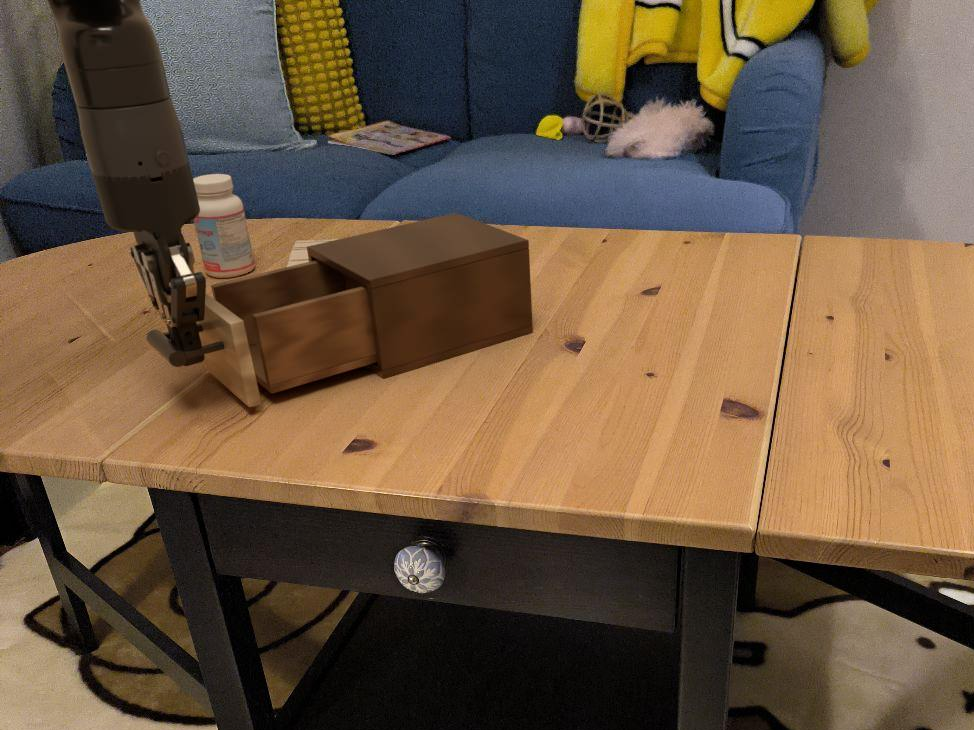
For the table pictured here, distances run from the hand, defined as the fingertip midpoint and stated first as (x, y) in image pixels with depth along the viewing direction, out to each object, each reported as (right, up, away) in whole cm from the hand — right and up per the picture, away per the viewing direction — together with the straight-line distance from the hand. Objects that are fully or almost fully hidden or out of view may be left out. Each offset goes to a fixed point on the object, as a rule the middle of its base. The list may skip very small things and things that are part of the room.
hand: (191, 361), depth 87 cm
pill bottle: (-7, +17, +34) cm, 39 cm away
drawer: (+7, 0, +5) cm, 9 cm away
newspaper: (+11, +19, +35) cm, 42 cm away
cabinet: (+20, +5, +14) cm, 25 cm away
